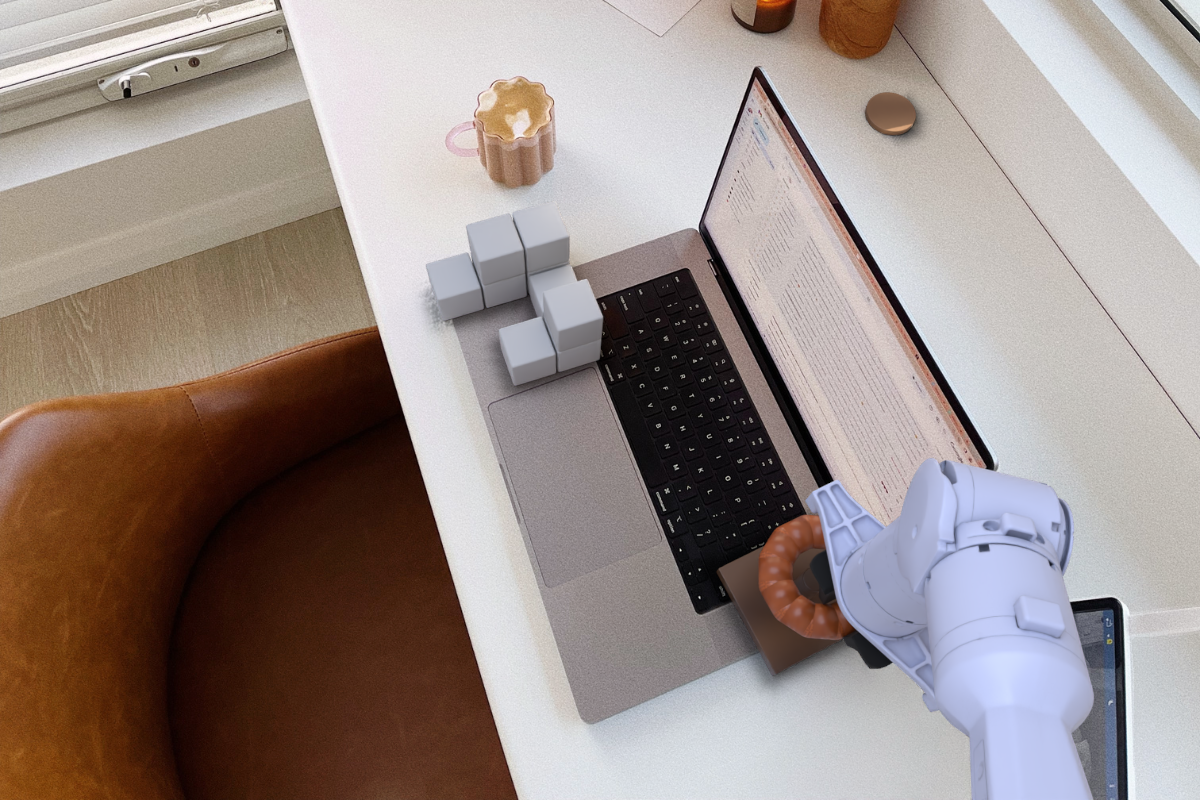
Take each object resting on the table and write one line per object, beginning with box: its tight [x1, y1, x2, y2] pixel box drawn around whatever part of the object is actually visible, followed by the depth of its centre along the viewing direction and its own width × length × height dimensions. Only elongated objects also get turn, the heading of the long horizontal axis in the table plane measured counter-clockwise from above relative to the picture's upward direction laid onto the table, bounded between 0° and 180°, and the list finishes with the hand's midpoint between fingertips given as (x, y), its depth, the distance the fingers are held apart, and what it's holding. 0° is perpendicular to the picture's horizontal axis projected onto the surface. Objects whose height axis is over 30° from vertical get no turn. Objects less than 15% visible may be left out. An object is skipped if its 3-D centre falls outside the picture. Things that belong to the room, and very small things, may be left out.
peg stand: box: [716, 545, 843, 677], centre depth 70 cm, size 9×9×7 cm
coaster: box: [864, 91, 917, 136], centre depth 92 cm, size 5×5×1 cm
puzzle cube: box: [425, 200, 604, 387], centre depth 78 cm, size 12×12×8 cm
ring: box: [759, 514, 856, 640], centre depth 65 cm, size 9×9×2 cm
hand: (845, 615), depth 64 cm, fingers closed on ring, 2 cm apart
